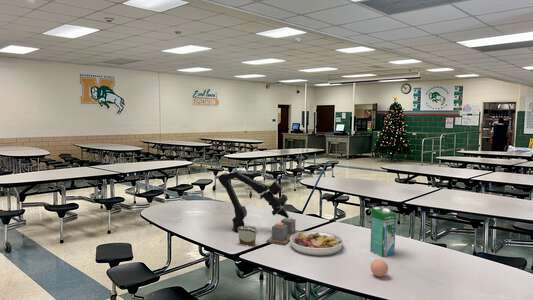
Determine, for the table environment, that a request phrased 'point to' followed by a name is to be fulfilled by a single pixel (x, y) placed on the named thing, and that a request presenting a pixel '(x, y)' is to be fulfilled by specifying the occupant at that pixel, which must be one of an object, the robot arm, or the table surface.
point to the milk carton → (382, 231)
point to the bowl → (316, 242)
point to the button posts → (283, 230)
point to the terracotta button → (279, 224)
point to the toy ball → (379, 267)
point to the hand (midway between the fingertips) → (288, 217)
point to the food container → (247, 235)
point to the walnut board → (282, 241)
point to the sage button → (288, 219)
